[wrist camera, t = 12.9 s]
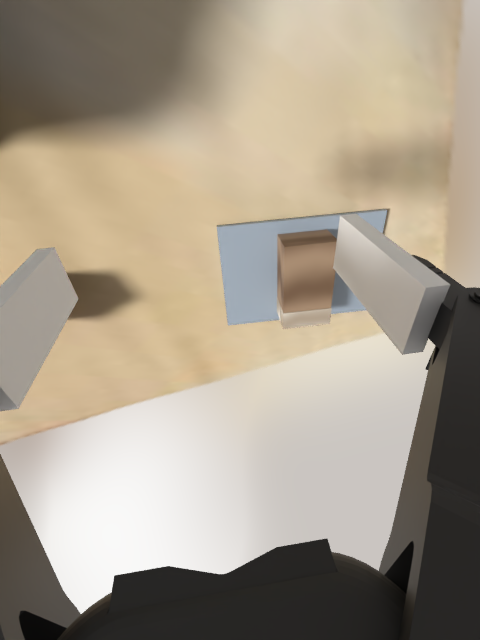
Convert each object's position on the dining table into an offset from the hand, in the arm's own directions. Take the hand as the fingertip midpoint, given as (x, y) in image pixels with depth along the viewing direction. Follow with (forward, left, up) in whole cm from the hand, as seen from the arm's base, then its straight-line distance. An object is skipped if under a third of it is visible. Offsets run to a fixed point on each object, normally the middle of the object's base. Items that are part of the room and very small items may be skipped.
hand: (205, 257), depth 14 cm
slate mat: (+11, -12, -22) cm, 27 cm away
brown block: (+11, -12, -21) cm, 27 cm away
